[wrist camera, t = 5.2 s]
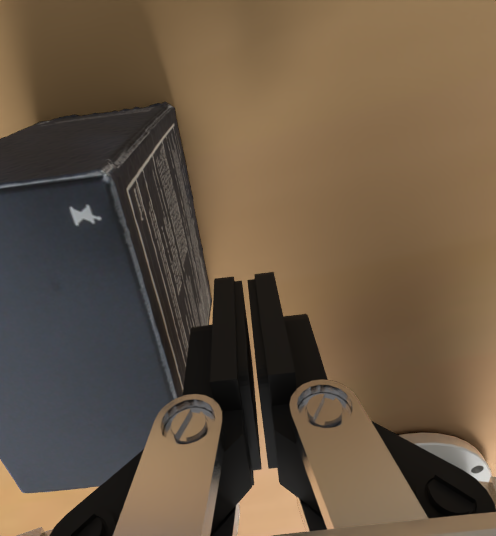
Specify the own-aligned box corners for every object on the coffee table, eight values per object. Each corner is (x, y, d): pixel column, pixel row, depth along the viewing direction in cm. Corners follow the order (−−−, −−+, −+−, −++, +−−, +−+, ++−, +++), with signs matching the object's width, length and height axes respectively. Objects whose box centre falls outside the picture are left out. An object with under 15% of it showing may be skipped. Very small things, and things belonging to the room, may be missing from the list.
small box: (25, 119, 17) (-202, 201, 8) (175, 99, 17) (117, 157, 8) (99, 318, 22) (11, 506, 13) (215, 303, 22) (207, 481, 13)
